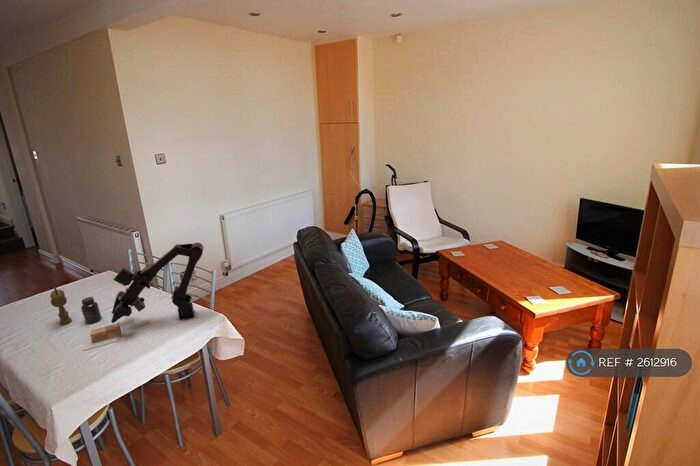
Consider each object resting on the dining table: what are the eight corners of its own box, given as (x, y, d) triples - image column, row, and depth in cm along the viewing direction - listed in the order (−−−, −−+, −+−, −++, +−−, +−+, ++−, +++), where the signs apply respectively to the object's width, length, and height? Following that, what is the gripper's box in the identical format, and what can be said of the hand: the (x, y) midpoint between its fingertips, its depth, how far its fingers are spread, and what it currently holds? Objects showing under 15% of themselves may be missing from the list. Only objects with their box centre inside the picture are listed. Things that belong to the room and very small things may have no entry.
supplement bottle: (105, 316, 186) (99, 295, 182) (94, 324, 179) (88, 302, 176) (92, 316, 187) (86, 295, 183) (82, 324, 180) (75, 302, 176)
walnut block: (119, 322, 171) (90, 330, 166) (118, 327, 167) (89, 335, 162) (121, 331, 172) (93, 338, 167) (121, 335, 169) (92, 343, 164)
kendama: (59, 328, 177) (47, 291, 170) (57, 320, 184) (45, 284, 177) (74, 323, 181) (62, 287, 174) (72, 316, 187) (61, 281, 181)
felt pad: (118, 328, 175) (118, 328, 175) (118, 341, 165) (117, 340, 165) (85, 337, 169) (85, 336, 169) (83, 351, 159) (83, 350, 159)
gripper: (151, 306, 169) (129, 334, 168) (149, 290, 185) (129, 316, 183) (127, 295, 163) (104, 324, 161) (127, 280, 179) (106, 306, 177)
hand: (112, 318), depth 171 cm, fingers open, 9 cm apart
